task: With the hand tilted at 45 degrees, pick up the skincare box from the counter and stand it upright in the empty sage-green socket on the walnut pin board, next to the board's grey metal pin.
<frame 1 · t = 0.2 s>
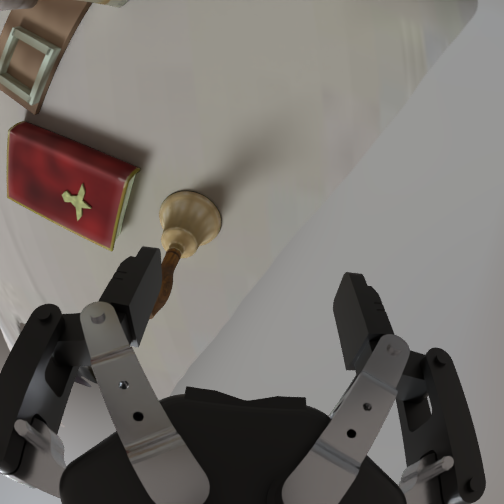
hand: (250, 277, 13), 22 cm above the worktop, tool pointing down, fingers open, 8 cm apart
hardcover book: (71, 175, 35), on the worktop
hand bell: (190, 218, 38), on the worktop
pin board: (33, 37, 21), on the worktop
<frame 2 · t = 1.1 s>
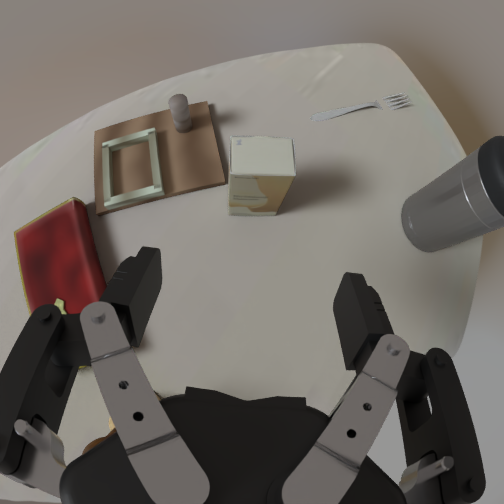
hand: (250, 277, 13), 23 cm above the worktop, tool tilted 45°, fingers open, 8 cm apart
hardcover book: (71, 289, 35), on the worktop
pin board: (153, 155, 38), on the worktop
skincare box: (252, 201, 38), on the worktop
fork: (356, 110, 43), on the worktop
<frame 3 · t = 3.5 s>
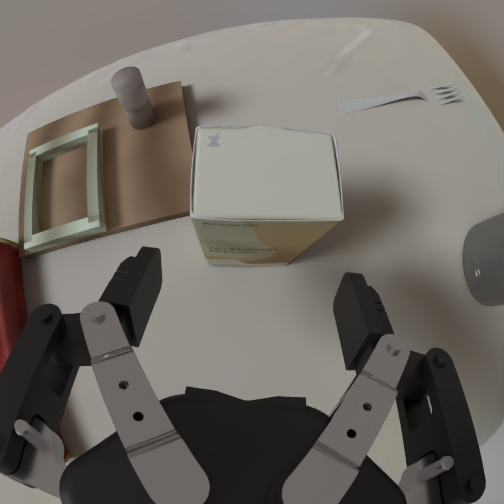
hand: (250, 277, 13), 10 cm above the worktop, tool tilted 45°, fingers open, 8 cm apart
hardcover book: (2, 358, 20), on the worktop
pin board: (97, 165, 24), on the worktop
skincare box: (248, 240, 23), on the worktop
fork: (397, 101, 28), on the worktop
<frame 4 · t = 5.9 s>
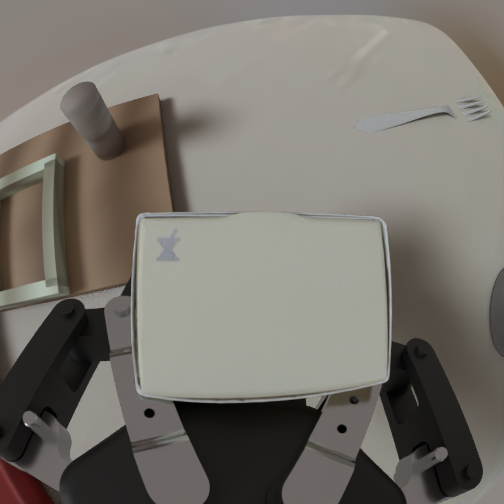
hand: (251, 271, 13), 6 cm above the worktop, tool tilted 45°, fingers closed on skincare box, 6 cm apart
pin board: (59, 205, 18), on the worktop
skincare box: (242, 308, 18), on the worktop, touching gripper
fork: (423, 118, 23), on the worktop
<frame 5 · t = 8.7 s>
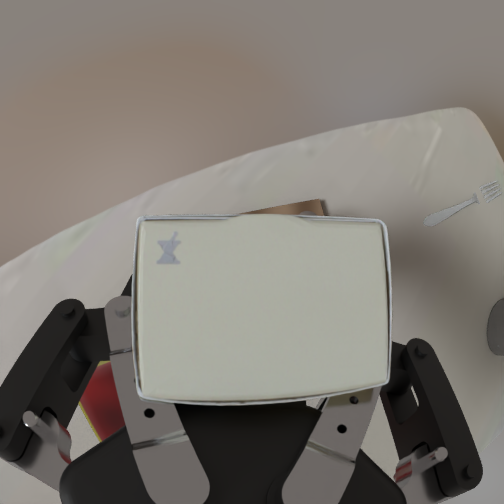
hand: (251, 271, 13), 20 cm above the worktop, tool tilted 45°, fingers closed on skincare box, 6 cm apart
hardcover book: (157, 430, 29), on the worktop
pin board: (257, 275, 33), on the worktop
skincare box: (242, 309, 18), point 14 cm above the worktop, touching gripper
fork: (459, 206, 37), on the worktop
when the fingers open (9 cm above the worktop, at t = 11.7 s): skincare box drops 1 cm, resting on pin board.
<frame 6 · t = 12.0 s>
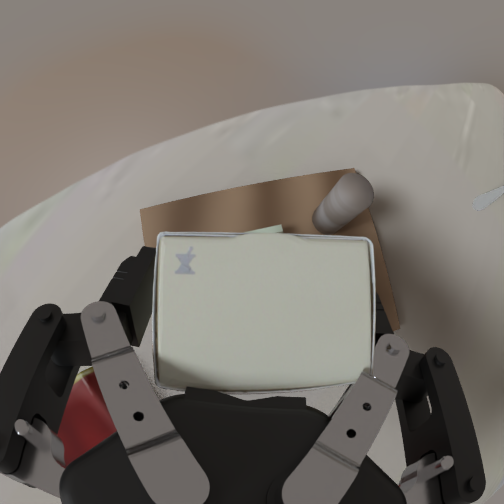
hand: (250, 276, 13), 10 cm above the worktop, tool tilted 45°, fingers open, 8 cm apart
hardcover book: (137, 482, 19), on the worktop
pin board: (273, 273, 22), on the worktop
skincare box: (245, 312, 19), point 2 cm above the worktop, touching pin board
fork: (502, 189, 27), on the worktop
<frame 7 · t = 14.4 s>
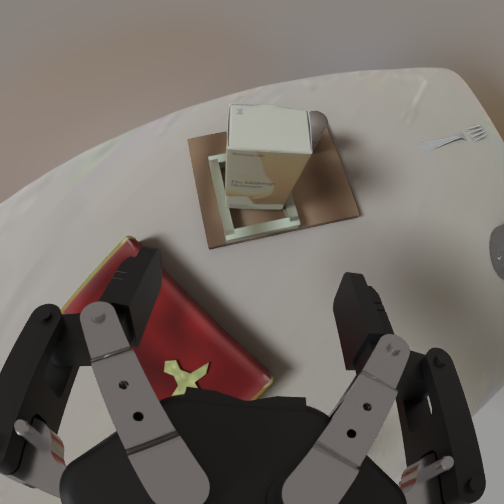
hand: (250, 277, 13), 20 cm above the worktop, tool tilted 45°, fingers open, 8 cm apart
hardcover book: (165, 344, 31), on the worktop
pin board: (271, 177, 35), on the worktop
skincare box: (255, 191, 32), point 2 cm above the worktop, touching pin board
fork: (448, 141, 39), on the worktop
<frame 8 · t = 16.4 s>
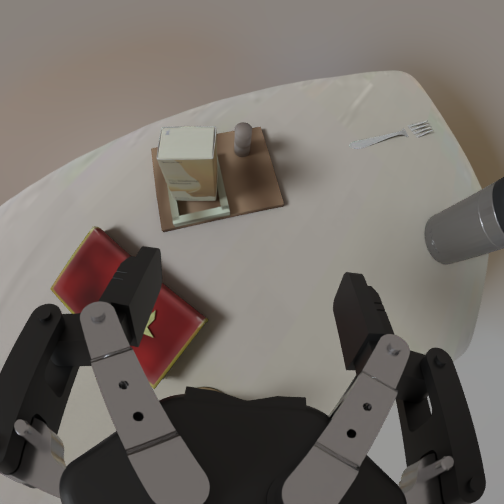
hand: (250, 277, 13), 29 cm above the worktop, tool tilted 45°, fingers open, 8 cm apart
hardcover book: (129, 305, 40), on the worktop
pin board: (214, 176, 44), on the worktop
skincare box: (196, 187, 41), point 2 cm above the worktop, touching pin board
fork: (387, 138, 49), on the worktop
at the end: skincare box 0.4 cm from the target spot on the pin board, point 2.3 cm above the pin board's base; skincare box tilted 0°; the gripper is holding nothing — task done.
